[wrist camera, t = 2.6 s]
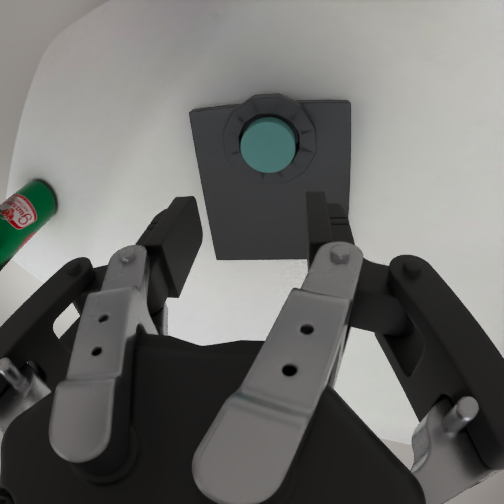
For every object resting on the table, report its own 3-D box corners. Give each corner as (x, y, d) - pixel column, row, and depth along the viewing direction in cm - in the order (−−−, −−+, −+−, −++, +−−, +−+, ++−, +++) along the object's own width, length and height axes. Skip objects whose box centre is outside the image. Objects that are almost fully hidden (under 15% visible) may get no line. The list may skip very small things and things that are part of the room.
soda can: (62, 194, 29) (-9, 262, 19) (53, 224, 31) (-8, 292, 22) (32, 170, 27) (-43, 229, 17) (25, 201, 30) (-39, 262, 20)
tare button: (241, 118, 20) (237, 123, 19) (293, 115, 20) (293, 120, 18) (246, 165, 22) (243, 174, 21) (296, 163, 22) (296, 172, 20)
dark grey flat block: (191, 100, 22) (179, 107, 20) (347, 90, 20) (355, 95, 18) (219, 252, 31) (212, 272, 28) (343, 251, 29) (347, 271, 26)
